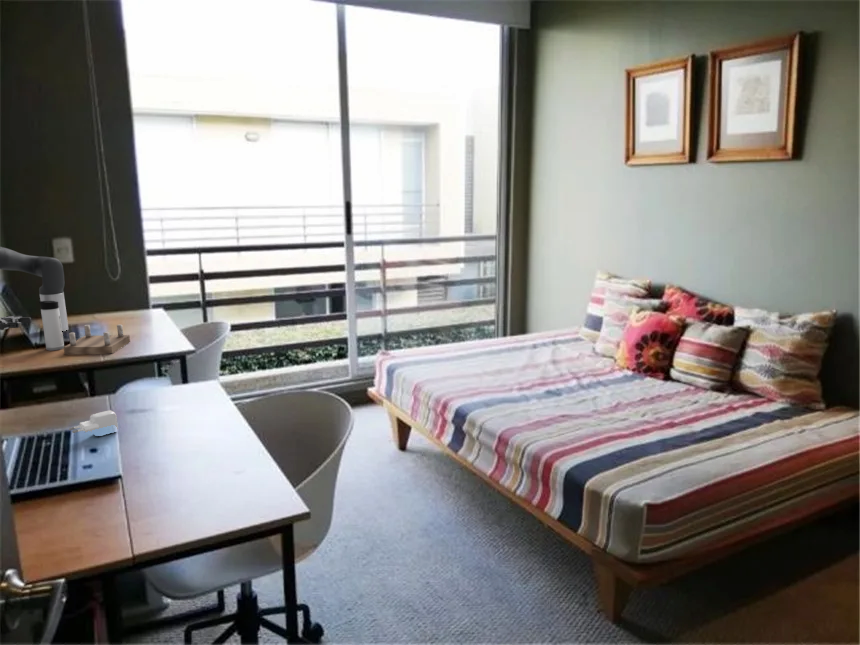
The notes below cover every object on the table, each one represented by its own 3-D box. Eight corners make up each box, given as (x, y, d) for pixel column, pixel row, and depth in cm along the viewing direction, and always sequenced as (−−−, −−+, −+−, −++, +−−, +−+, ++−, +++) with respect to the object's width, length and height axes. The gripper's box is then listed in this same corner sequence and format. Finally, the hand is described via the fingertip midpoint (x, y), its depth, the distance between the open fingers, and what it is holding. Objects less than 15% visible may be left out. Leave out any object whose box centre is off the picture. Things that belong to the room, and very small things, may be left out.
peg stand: (64, 354, 242) (62, 334, 241) (85, 342, 260) (83, 324, 258) (112, 353, 244) (110, 334, 242) (130, 342, 261) (128, 323, 259)
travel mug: (42, 349, 249) (35, 300, 245) (58, 345, 255) (51, 298, 250) (51, 351, 246) (44, 302, 242) (67, 347, 252) (61, 299, 247)
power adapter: (75, 445, 161) (72, 424, 160) (68, 440, 164) (66, 419, 163) (120, 433, 169) (117, 412, 167) (113, 428, 172) (110, 408, 171)
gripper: (-31, 317, 238) (13, 317, 240) (-9, 310, 252) (33, 309, 253) (-28, 336, 240) (16, 336, 241) (-6, 327, 254) (35, 327, 255)
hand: (24, 322), depth 247 cm, fingers open, 8 cm apart
